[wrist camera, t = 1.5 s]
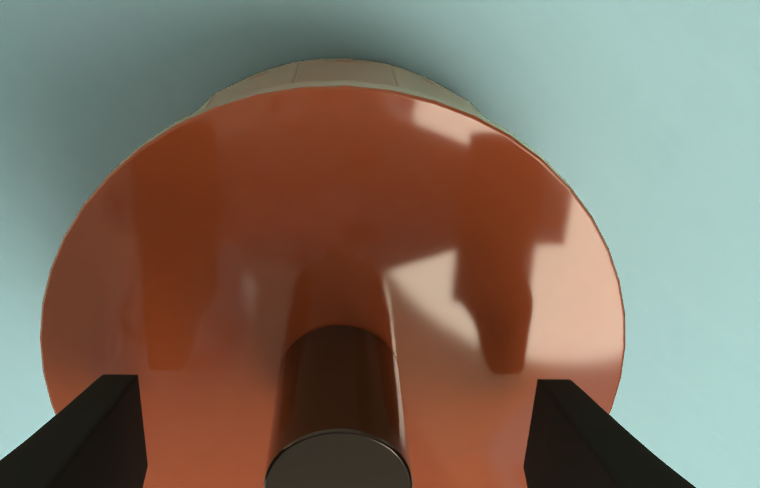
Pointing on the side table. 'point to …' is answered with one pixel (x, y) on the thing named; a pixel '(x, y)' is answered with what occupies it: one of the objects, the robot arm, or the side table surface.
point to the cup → (339, 78)
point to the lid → (334, 293)
